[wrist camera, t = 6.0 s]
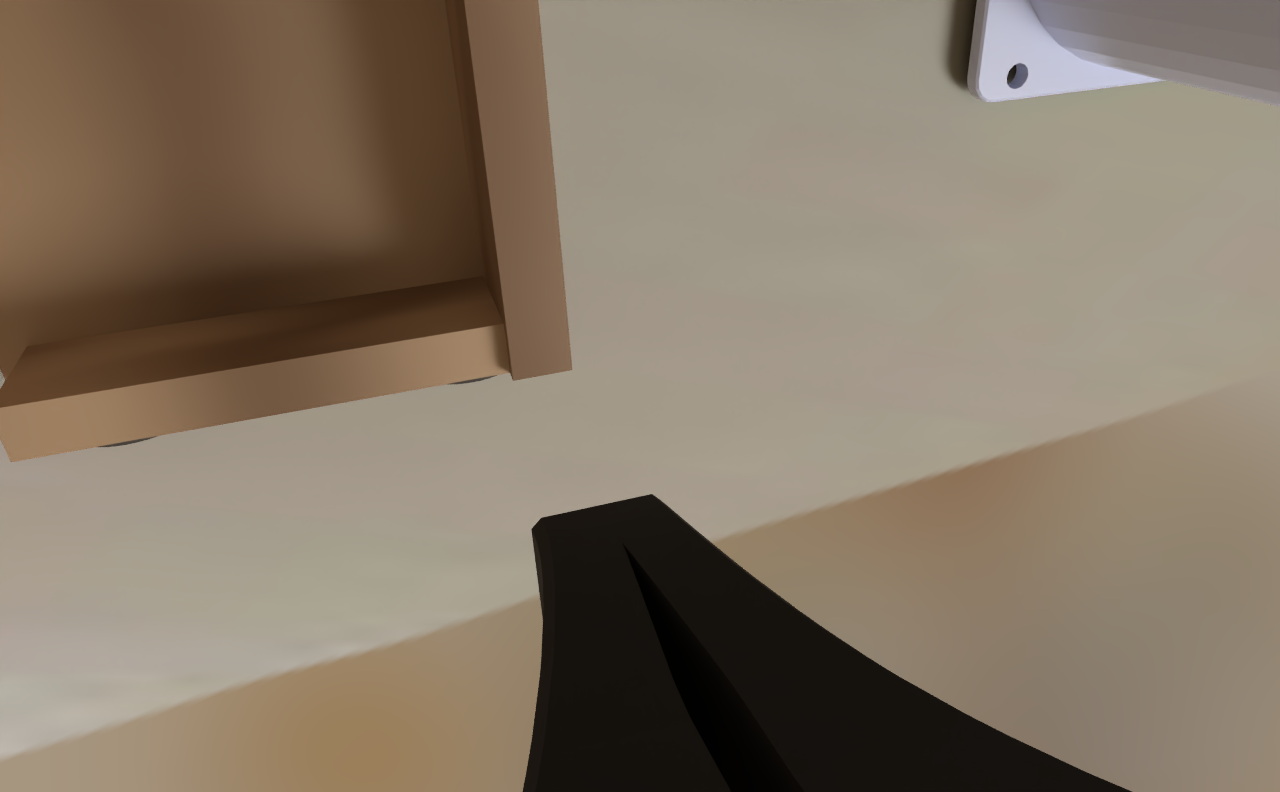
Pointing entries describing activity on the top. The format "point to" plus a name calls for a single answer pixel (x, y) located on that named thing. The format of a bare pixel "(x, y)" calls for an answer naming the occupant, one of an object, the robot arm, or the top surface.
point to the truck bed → (267, 210)
